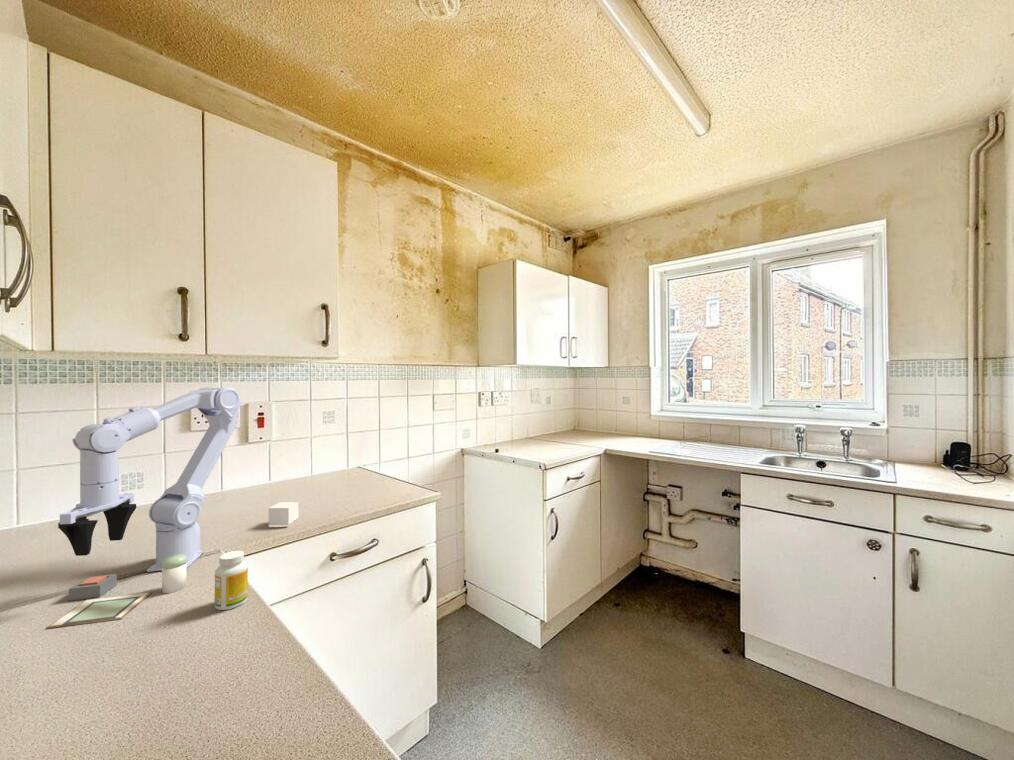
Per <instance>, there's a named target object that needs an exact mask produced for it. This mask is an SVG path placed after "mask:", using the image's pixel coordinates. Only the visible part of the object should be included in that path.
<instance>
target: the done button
mask: <svg viewBox="0 0 1014 760" xmlns="http://www.w3.org/2000/svg"><path fill="white" fill-rule="evenodd" d="M99 576H100V577H93V576H90V577H91V578H89V579H87V580H86V581H84V582H83V583H81V584H80V586H85V585H94V584H99V583H100V582H102V581H103V580H105V579H106V578H107V576H102V575H99Z"/></svg>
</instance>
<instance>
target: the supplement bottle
mask: <svg viewBox="0 0 1014 760" xmlns="http://www.w3.org/2000/svg"><path fill="white" fill-rule="evenodd" d="M218 558H219V560H218V561H219V562H218V563H219V566H218V567H217V568H216V569H215V571H214V608H215V609H216V610H218V611H227V610H231V609H235V608H238V607H240V606H242V605H244V604H245V602H246V601H247V600H248V587H249V586H248V581H249V578H248V577H249V576H248V575H249V574H248V572H249V571H248V568H249V567H248V563H247V562H246V561H244V559H245V552H244V551H243V550H232V551H228V552H225V553H223V554H221V555H219V557H218Z"/></svg>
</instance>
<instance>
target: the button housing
mask: <svg viewBox="0 0 1014 760" xmlns="http://www.w3.org/2000/svg"><path fill="white" fill-rule="evenodd" d="M100 576H107V578H106V579H105V580H103V581H102V582H100V583H99V584H94V585H85V586H80V584H81V583H83V582H84V581H86V580H87V579H89V578H91V577H100ZM116 586H118V574H117V573H114V574H104V575H95V576H87V577H85V578H84V579H82V580H81V581H79V582H76V584H75V585H72V586H71V587H69V588H68V602H71V601H79V600H89V599H98V598H102V597H103V596H104V595H105V594H107V593H108V592H109V591H111V590H112V589H113V588H116Z"/></svg>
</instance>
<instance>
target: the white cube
mask: <svg viewBox="0 0 1014 760" xmlns="http://www.w3.org/2000/svg"><path fill="white" fill-rule="evenodd" d="M299 505H300V503H299V502H297V501H296V502H295V501H287V502H286V501H285V502H284V501H283V502H282V501H280V502H277V503H275V504H274V505H271V506H269V507H268V526H269V525H289V524H290V523H292V522H293V521H294V520H296V519H297V518H300V517H299V514H300V513H299V510H300V509H299Z"/></svg>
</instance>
